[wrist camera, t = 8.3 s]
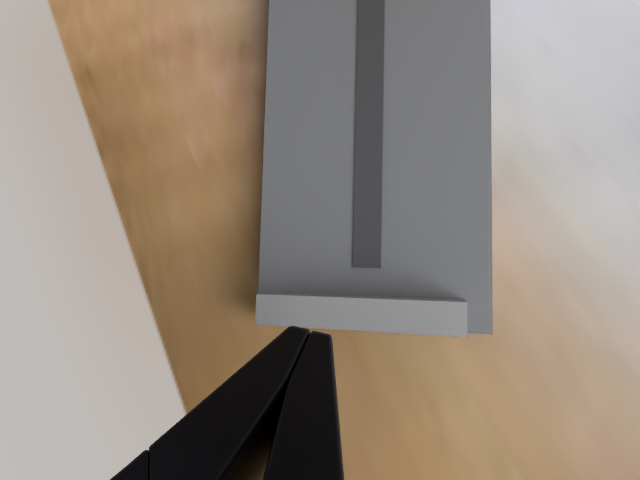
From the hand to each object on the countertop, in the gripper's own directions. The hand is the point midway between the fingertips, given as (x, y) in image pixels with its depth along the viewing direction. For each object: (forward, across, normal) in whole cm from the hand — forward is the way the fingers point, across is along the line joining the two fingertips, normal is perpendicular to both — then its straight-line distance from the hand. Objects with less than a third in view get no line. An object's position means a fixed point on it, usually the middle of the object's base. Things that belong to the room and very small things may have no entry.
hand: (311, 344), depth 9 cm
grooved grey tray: (+16, +1, 0) cm, 16 cm away
